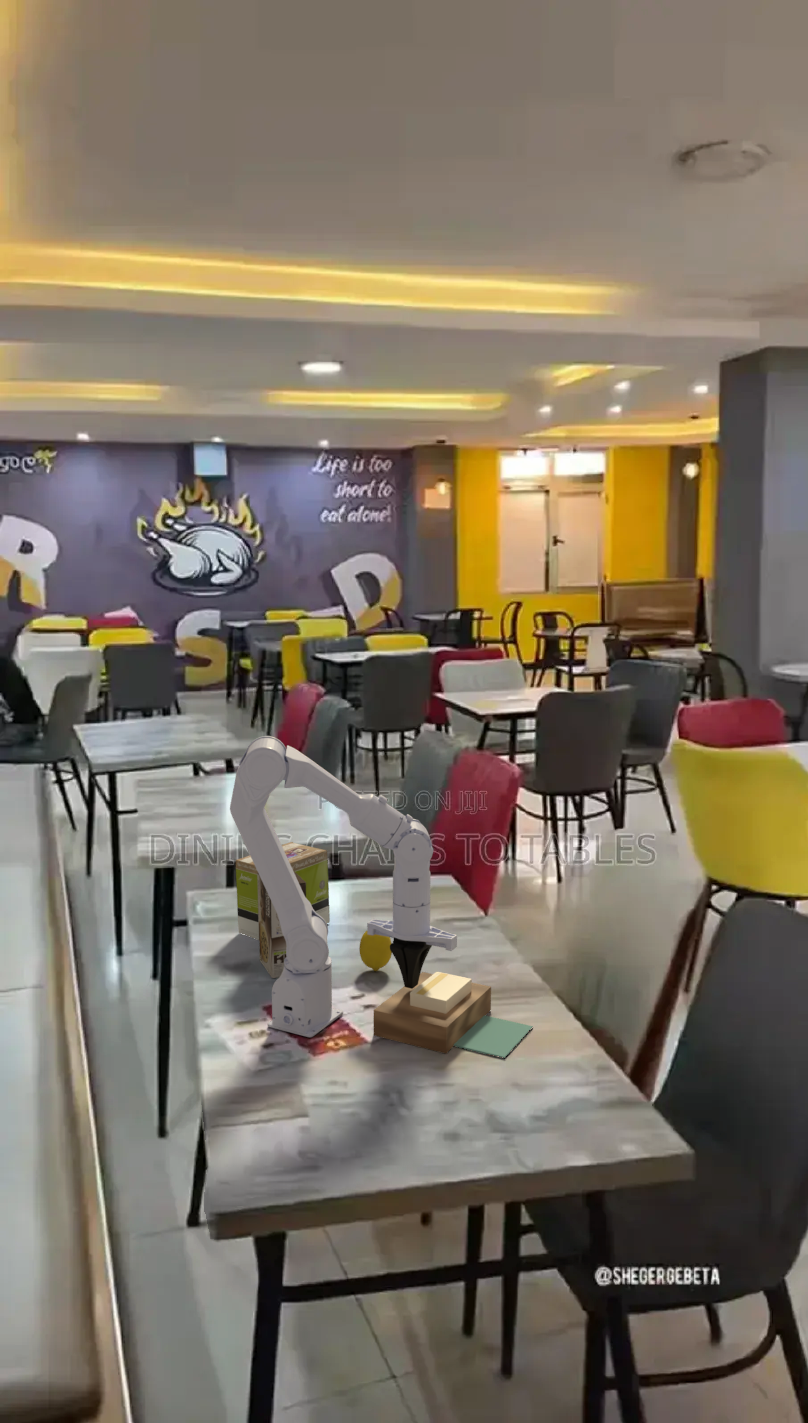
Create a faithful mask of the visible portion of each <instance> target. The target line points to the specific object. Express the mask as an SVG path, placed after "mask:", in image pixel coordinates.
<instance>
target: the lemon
mask: <svg viewBox="0 0 808 1423" xmlns="http://www.w3.org/2000/svg"><path fill="white" fill-rule="evenodd" d="M359 942H360V943H359V948H358V949H359V956H360V959H361V962H362V964H364V965H365V966H366V967H368V968H370V969H372V970H373V971H374V972H378V971H379V970H380V969H381V968H384V967H386V965H388V963H389V962H390V960H391V957H392V955H393V953H392V952H391V951H390V945H391V944H392V943H393V942H392V940H391V937H387V936H382V935H377V934H375V935H368V934H367V930H366V931H364V933H362V935H361V939H360V941H359Z"/></svg>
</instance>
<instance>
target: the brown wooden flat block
mask: <svg viewBox="0 0 808 1423" xmlns="http://www.w3.org/2000/svg"><path fill="white" fill-rule="evenodd" d="M433 974H434V973H429V972H426V971H425V972H424V971H421V973H420V977H419V981H418V985H417V986H415V987H414V988H413V989H411V988H407V987H405V986H403V987H401V988H400V989H399V990H397V991H396V992H395V993H394V994H392V995H391V996H390V997H388V998H387V999H386V1000H385V1001H384V1002H382V1003H380V1004H379V1006H377V1007H375V1008H374V1009H373V1036H375V1037H378V1038H382V1039H386V1040H391V1041H395V1042H398V1043H403V1044H407V1045H411V1046H414V1047H418V1048H422V1049H426V1050H430V1051H434V1052H437V1053H438V1052H439V1053H442V1054H448V1052H449V1051H451V1050H452V1049H453V1048H454V1047H453V1046H454V1044H455V1043H456V1042H457V1041H458V1040H459V1039H460V1038H461V1037H462V1036H463V1035H464V1034H465V1033H466V1032H467V1031H468V1030H469V1029H470V1028H471V1027H473V1026H474V1025H475V1024H476V1023H477V1022H478V1021H479V1020H480V1019H481V1018H482V1017H483V1016H484V1015H486V1014H487V1013H488V1014H489V1013H490V1012H491V1011H492V986H490V985H484V984H482V983H476V982H472V991H471V992H470V993H469V994H468V995H467V996H466V997H464V998H463V999H462V1000H461V1001H460V1002H459V1003H458V1004H457V1005H455V1006H454V1007H453V1008H452V1009H451V1010H450V1011H449V1012H447V1013H446V1014H445V1013H441V1012H436V1011H432V1010H428V1009H424V1008H419V1007H415V1006H411V1005H410V992H412V991H413V990H414V989H415V988H417V987H418V986H419V985H420V984H422V983H423V982H424V981H425V980H427V979H428V978H429V977H430V976H432V975H433ZM490 1010H491V1011H490ZM489 1011H490V1012H489ZM488 1014H487V1015H488ZM487 1015H486V1016H487ZM452 1047H453V1048H452ZM451 1048H452V1049H451ZM450 1049H451V1050H450Z"/></svg>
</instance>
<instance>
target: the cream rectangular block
mask: <svg viewBox="0 0 808 1423" xmlns="http://www.w3.org/2000/svg"><path fill="white" fill-rule="evenodd" d="M432 974H433V975H432V976H430V977H429V978H428V979H427V980H425V981H424V982H423V983H422V984H420V985H419V986H418V987H417V988H415V989H414V990H413V991H412V992H410V1005H411V1006H415V1007H419V1008H424V1009H428V1010H432V1011H436V1012H441V1013H445V1014H446V1013H447V1012H449V1011H450V1010H451V1009H452V1008H453V1007H454V1006H455V1005H457V1004H458V1003H459V1002H460V1001H461V1000H462V999H463V998H464V997H466V996H467V995H468V994H469V993H470V992H471V991H472V983H473V982H472V980H473V979H472V978H470V977H464V976H460V975H455V974H451V973H446V972H441V971H435V972H434V973H432Z"/></svg>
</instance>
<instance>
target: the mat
mask: <svg viewBox="0 0 808 1423" xmlns="http://www.w3.org/2000/svg"><path fill="white" fill-rule="evenodd" d="M532 1027H533V1028H534V1026H533V1025H529V1024H526V1023H525V1024H524V1023H520V1022H517V1021H511V1020H507V1019H502V1018H499V1017H495V1016H490V1015H484V1016H483V1017H482V1018H481V1019H480V1020H479V1021H478V1022H477V1023H476V1024H475V1025H474V1026H473V1027H471V1028H470V1029H469V1030H468V1031H467V1032H466V1033H465V1034H464V1035H463V1036H462V1037H461V1038H460V1039H459V1040H458V1041H457V1042H456V1043H455V1044H454V1046H456V1047H455V1048H458V1047H459V1049H462V1048H464V1049H463V1050H466V1049H467V1050H466V1051H470V1050H472V1051H471V1052H474V1051H476V1052H475V1053H479V1054H482V1053H483V1055H486V1054H490V1055H494V1056H499V1057H503V1058H505V1057H506V1056H507V1055H508V1054H509V1053H510V1051H511V1050H512V1049H513V1048H514V1047H515V1046H516V1045H517V1044H518V1043H519V1042H520V1041H521V1039H522V1038H523V1037H524V1036H525V1035H526V1034H527V1033H528V1031H529V1030H530V1029H531V1028H532ZM528 1034H529V1033H528ZM528 1034H527V1035H528ZM527 1035H526V1036H527ZM526 1036H525V1037H526ZM525 1037H524V1038H525ZM524 1038H523V1039H524ZM523 1039H522V1040H523ZM521 1042H522V1041H521ZM521 1042H520V1043H521ZM520 1043H519V1044H520ZM519 1044H518V1045H519ZM518 1045H517V1046H518ZM517 1046H516V1047H517ZM516 1047H515V1048H516ZM515 1048H514V1049H515ZM514 1049H513V1050H514ZM513 1050H512V1051H513ZM512 1051H511V1052H512ZM510 1054H511V1053H510ZM510 1054H509V1055H510ZM490 1055H489V1056H490ZM509 1055H508V1056H509ZM494 1056H493V1057H494ZM508 1056H507V1057H508ZM507 1057H506V1058H507ZM506 1058H505V1059H506Z"/></svg>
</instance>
